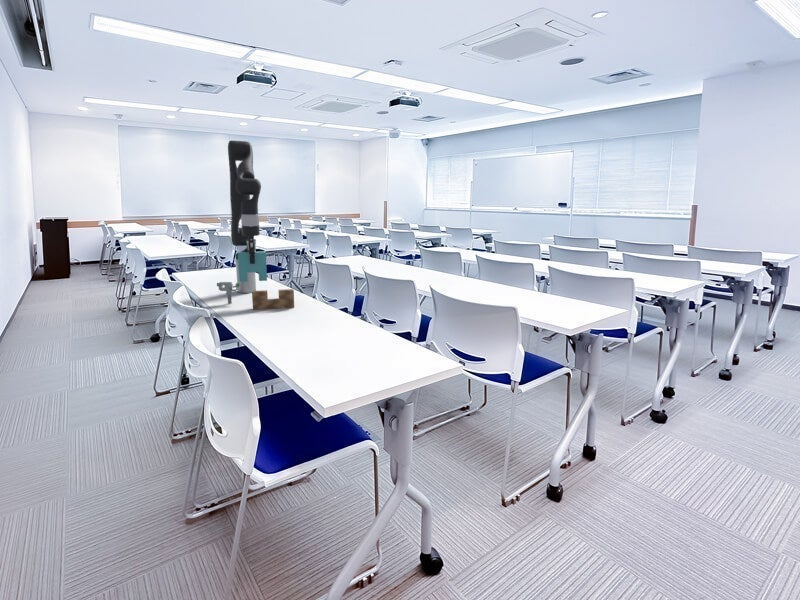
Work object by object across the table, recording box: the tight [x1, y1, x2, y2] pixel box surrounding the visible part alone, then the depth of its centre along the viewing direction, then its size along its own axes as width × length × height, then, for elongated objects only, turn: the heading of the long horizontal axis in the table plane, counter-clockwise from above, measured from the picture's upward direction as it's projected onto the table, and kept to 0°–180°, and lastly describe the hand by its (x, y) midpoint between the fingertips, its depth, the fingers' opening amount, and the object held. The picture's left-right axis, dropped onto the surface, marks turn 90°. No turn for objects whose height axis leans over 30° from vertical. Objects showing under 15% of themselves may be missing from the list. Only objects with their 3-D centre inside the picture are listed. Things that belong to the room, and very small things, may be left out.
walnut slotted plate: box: [251, 288, 295, 311], centre depth 214 cm, size 18×3×8 cm, turn 108°
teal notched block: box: [237, 251, 268, 282], centre depth 216 cm, size 12×3×13 cm, turn 108°
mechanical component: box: [216, 281, 240, 305], centre depth 221 cm, size 3×10×10 cm, turn 89°
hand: (252, 262), depth 216 cm, fingers closed on teal notched block, 3 cm apart
